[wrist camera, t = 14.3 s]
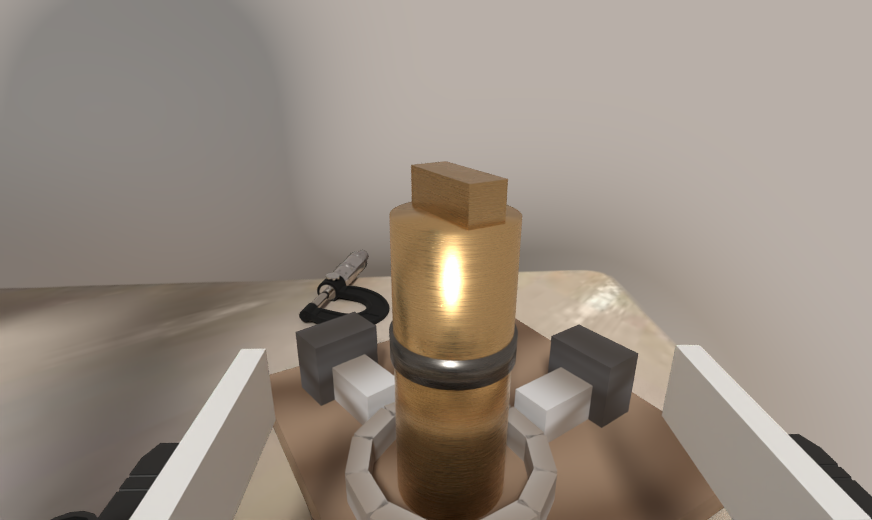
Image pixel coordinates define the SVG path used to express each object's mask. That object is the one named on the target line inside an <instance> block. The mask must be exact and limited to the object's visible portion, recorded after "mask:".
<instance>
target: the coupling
mask: <svg viewBox="0 0 872 520" xmlns="http://www.w3.org/2000/svg"><path fill="white" fill-rule="evenodd" d="M411 178H412V179H411V181H412V202H408V203H405V204H402V205H399V206H397V207H395V208H394V209H392V211H391V212H390V248H391V281H392V314H393V320H392V322H391V324H390V328H389V337H390V359H391V363H392V365H393V367H394V381H395V414H396V447H397V480H398V489H399V493H400V495H401V497H402V499H403V501H404V502H405V503H406V505H407V506H408V507H409V508H410V509H411V510H412V511H414V512H415V513H416V514H418V515H420V516H421V517H423V518H425V519H428V520H476V519H478V518H481V517H483V516H484V515H486V514H487V513H489V512H490V511H491V510H492V509H493V508H494V507H495V506H496V505H497V503H498V502H499V500H500V498H501V496H502V492H503V486H504V471H505V457H506V442H507V428H508V414H509V399H510V385H511V371H512V369H513V367H514V366H515V362H516V352H517V338H518V330H517V326H516V324H515V313H516V298H517V284H518V269H519V255H520V240H521V226H522V214H521V213H520V212H519V211H518V210H516V209H515V208H513V207H511V206H508V205H506V202H507V185H508V183H507V182H508V179H506V178H502V177H499V176H495V175H492V174H488V173H485V172H481V171H478V170H474V169H471V168H467V167H464V166H460V165H457V164H453V163H450V162H435V163H425V164H415V165H411Z"/></svg>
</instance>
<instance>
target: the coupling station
mask: <svg viewBox="0 0 872 520" xmlns="http://www.w3.org/2000/svg"><path fill="white" fill-rule="evenodd" d="M515 324H516V326H517V330H518V338H517V352H516V362H515V366H514V367H513V369H512V371H511V385H510V399H509V414H508V428H507V442H506V457H505V471H504V486H503V492H502V496H501V498H500V500H499V502H498V503H497V505H496V506H495V507H494V508H493V509H492V510H491V511H490V512H489V513H487V514H486V515H484V516H483V517H481V518H478V519H476V520H707V519H709V518H710V517H711V516H713V515H714V514H716V513H717V512H718V511H720V510H721V509H722V508H724V506H723V505H722V503H721V502H720V500H719V499H718V497H717V496H716V495H715V493H714V492H713V490H712V489H711V487H710V486H709V484H708V483H707V481H706V480H705V478H704V477H703V475H702V474H701V472H700V471H699V470H698V468H697V467H696V465H695V464H694V462H693V461H692V459H691V458H690V456H689V455H688V453H687V452H686V450H685V449H684V447H683V446H682V445H681V443H680V442H679V440H678V439H677V437H676V436H675V434H674V433H673V431H672V430H671V428H670V427H669V425H668V424H667V423H666V421H665V420H664V418H663V417H662V411H661V410H659V409H658V408H656V407H655V406H653V405H651V404H650V403H648V402H647V401H645V400H644V399H642V398H640V397H639V396H637V395H636V394H634V393H632V387H633V381H634V375H635V370H636V364H637V358H638V353H636V352H634V351H632V350H630V349H628V348H626V347H624V346H622V345H620V344H618V343H616V342H614V341H612V340H610V339H608V338H605V337H603V336H601V335H599V334H597V333H595V332H593V331H591V330H589V329H587V328H585V327H583V326H581V325H577V326H574V327H572V328H570V329H567V330H565V331H563V332H560V333H558V334H556V335H553V336H552V337H551V341H550V340H549V339H547V338H546V337H544V336H542V335H541V334H539V333H538V332H536V331H534V330H533V329H531V328H530V327H528V326H527V325H525V324H523V323H522V322H520V321H519V320H517V319H516V318H515ZM296 340H297V349H298V357H299V366H298V367H295V368H291V369H288V370H285V371H281V372H278V373H274V374H271V375H269V376H270V383H271V390H272V397H273V404H274V411H275V418H276V420H275V423H274V425H273V427H274V429H275V432H276V434H277V436H278V439H279V441H280V443H281V446H282V448H283V450H284V453H285V455H286V457H287V460H288V462H289V464H290V467H291V469H292V471H293V474H294V476H295V478H296V480H297V483H298V485H299V487H300V490H301V492H302V494H303V497H304V499H305V501H306V504H307V506H308V508H309V511H310V513H311V515H312V518H313V520H428V519H425V518H423V517H421V516H420V515H418V514H416V513H415V512H414V511H412V510H411V509H410V508H409V507H408V506H407V505H406V503H405V502H404V501H403V499H402V497H401V495H400V493H399V489H398V480H397V447H396V414H395V381H394V367H393V365H392V363H391V359H390V340H389V341H385V342H382V343H378V344H377V332H376V325H374V324H373V323H371V322H370V321H368V320H367V319H365V318H364V317H362V316H360V315H359V314H357V313H356V312H352V313H349V314H347V315H344V316H341V317H338V318H335V319H332V320H329V321H326V322H323V323H321V324H318V325H315V326H312V327H309V328H306V329H303V330H300V331H298V332H296Z"/></svg>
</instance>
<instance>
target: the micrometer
mask: <svg viewBox="0 0 872 520" xmlns="http://www.w3.org/2000/svg"><path fill="white" fill-rule="evenodd" d="M368 257H369V256H368V253H367V252H366V251H365V250H360V251H358V252H352V253H351V254H350V255H349V256H348V257H347V258H346V259H345V260H344V261H343V262H342V263H341V264H340V265H339V266H337V267H336V269H335V270H334V271H333V272H332V273H328V274H326V279H325V280H324V281H323V282H322V283H321V284H320V285H319V286H318V289H317V293H318V296H317V297H316V299H315V300H314V301H313V302H312V303H309V304H308V305H307V306H306V307H305V308H304V309H303V310H302V311H301V312H300V314H299V317H300V319H301V320H302V321H304V322H308V321H310V320H311V321H313V322H315V323H317V324H321V323H323V322H326V321H329V320H332V319H335V318H338V317H341V316H344V315H347V314H346V313H340V312H335V311H331V310H326V309H322V308H320V307H321V306H322V305H323V304H324V303H325V301H326V300H329V301H335V300H336V299H337V298H338V297H339V298H344V299H348V300H353V301H357V302H360V303H362V304H363V305H365V306H366V309H365V310H364V311H362V312H359V313H357V314H359V315H360V316H362V317H364V318H365V319H367V320H368V321H370V322H371V323H373V324H374V325H375V324H377V323H379V322H380V321H382V320H383V319H384V318H385V317H386V316H387V315H388V313H389V304H388V302H387V301H386V299H385V298H384V297H383V296H381V295H380V294H378V293H376V292H374V291H372V290H369V289H366V288H362V287H357V286H349V285H350V284H351V283H352V282H353V281H354V280H355V279H356V277H357V276H358V275H359V273H360V272H362V271H363V270H364V269H365V267H366V266H367V259H368Z"/></svg>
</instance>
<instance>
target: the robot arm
mask: <svg viewBox="0 0 872 520" xmlns="http://www.w3.org/2000/svg"><path fill="white" fill-rule="evenodd" d="M662 417H663V418H664V420H665V421H666V423H667V424H668V425H669V427H670V428H671V430H672V431H673V433H674V434H675V436H676V437H677V439H678V440H679V442H680V443H681V445H682V446H683V447H684V449H685V450H686V452H687V453H688V455H689V456H690V458H691V459H692V461H693V462H694V464H695V465H696V467H697V468H698V470H699V471H700V472H701V474H702V475H703V477H704V478H705V480H706V481H707V483H708V484H709V486H710V487H711V489H712V490H713V492H714V493H715V495H716V496H717V497H718V499H719V500H720V502H721V503H722V505H723V506H724V508H725V509H726V511H727V512H728V514H729V515H730V517H731V518H732V520H872V496H871V495H870V494H868V493H867V492H866V491H865V490H864V489H863V488H862V487H861V486H860V485H859V484H858V483H857V482H856V481H855V480H852V479H851V476H850V475H849V474H848V473H846V471H845V470H844V469H842V468H841V467H838V464H837V463H836V462H835V461H834V460H833V459H832V458H831V457H830V456H829V455H828V454H827V453H826V452H825V451H824V450H823V449H822V448H820V447H819V446H817V445H816V444H814V443H812V442H811V441H809V440H807V439H806V438H804V437H802V436H801V435H799V434H787V433H786V432H785V431H784V430H783V429H782V428H781V427H780V426H779V425H778V424H777V423H776V422H775V421H774V420H773V419H772V418H771V417H770V416H769V415H768V414H767V413H766V412H765V411H764V410H763V409H762V408H761V407H760V406H759V405H758V404H757V403H756V402H755V401H754V400H753V399H752V398H751V397H750V396H749V395H748V394H747V393H746V392H745V391H744V390H743V389H742V388H741V387H740V386H739V385H738V384H737V382H736V381H735V380H734V379H733V378H732V377H730V376H729V374H727V372H726V371H725V370H724V369H723V368H722V367H721V366H720V365H719V364H718V363H717V362H716V361H714V359H713V358H712V357H711V356H710V355H709V354H708V353H707V352H706V351H705V350H704V349H703V348H702V347H701V346H700V345H676V347H675V352H674V357H673V362H672V367H671V372H670V377H669V382H668V387H667V392H666V396H665V401H664V406H663V411H662ZM275 420H276V418H275V411H274V404H273V397H272V390H271V383H270V376H269V368H268V361H267V354H266V349H241V350H240V352H239V353H238V355H237V356H236V358H235V359H234V361H233V363H232V364H231V366H230V367H229V369H228V370H227V372H226V373H225V375H224V376H223V378H222V379H221V381H220V382H219V384H218V385H217V387H216V388H215V390H214V391H213V393H212V395H211V396H210V398H209V399H208V401H207V402H206V404H205V405H204V407H203V408H202V410H201V411H200V413H199V414H198V416H197V417H196V419H195V420H194V422H193V423H192V425H191V426H190V428H189V430H188V431H187V433H186V434H185V436H184V437H183V439H182V440H181V442H180V443H160V444H159V445H157V446H156V447H155V448H154V449H152V450H151V451H150V452H148V453H147V454H146V455H145V456H143V457H142V458H141V459H140V461H139V462H138V464H137V465H136V466H135V468H134V469H133V470H132V472H131V473H130V476H129V478H127V479H126V480H125V481H124V483H123V484H122V485H121V487H120V488H119V492H116V494H115V495H114V496H113V498H112V499H111V501H110V502H109V503H108V505H107V506H106V507H105V509H104V510H103V512H102V513H101V514H100V516H99V517H98V518H97V517H96V515H95V514H93V513H90V512H86V511H79V512H70V513H67V514H64V515H61V516H58V517H55V518H53V519H51V520H233V519H234V516H235V514H236V512H237V509H238V507H239V505H240V502H241V500H242V498H243V495H244V493H245V491H246V488H247V486H248V484H249V481H250V479H251V476H252V474H253V472H254V469H255V467H256V465H257V462H258V460H259V458H260V455H261V453H262V451H263V448H264V446H265V444H266V441H267V439H268V437H269V434H270V432H271V430H272V427H273V425H274V423H275Z"/></svg>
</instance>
